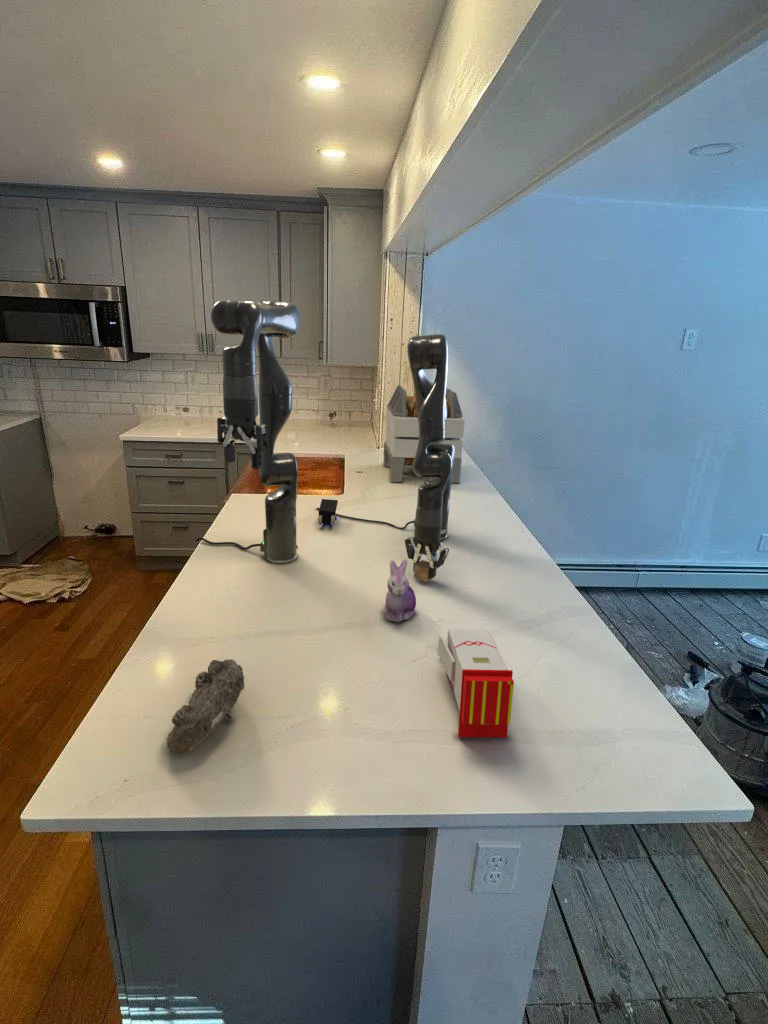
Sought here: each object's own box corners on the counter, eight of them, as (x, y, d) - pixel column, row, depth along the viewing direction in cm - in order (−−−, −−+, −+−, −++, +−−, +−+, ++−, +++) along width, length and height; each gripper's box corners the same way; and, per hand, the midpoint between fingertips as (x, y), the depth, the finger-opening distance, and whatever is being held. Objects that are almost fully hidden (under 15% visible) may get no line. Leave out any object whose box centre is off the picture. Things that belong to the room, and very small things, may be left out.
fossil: (192, 660, 117) (244, 628, 112) (224, 691, 120) (276, 661, 115) (142, 746, 98) (202, 712, 93) (182, 779, 101) (242, 748, 96)
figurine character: (335, 535, 199) (338, 516, 213) (336, 516, 196) (338, 497, 209) (316, 534, 199) (320, 515, 213) (316, 515, 196) (320, 497, 209)
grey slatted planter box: (382, 463, 289) (386, 382, 275) (445, 464, 293) (451, 384, 279) (390, 482, 257) (394, 392, 243) (460, 483, 261) (468, 394, 247)
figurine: (392, 627, 141) (395, 572, 136) (374, 608, 149) (376, 556, 144) (425, 619, 145) (429, 566, 140) (405, 601, 154) (408, 550, 149)
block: (413, 577, 165) (414, 564, 164) (421, 572, 169) (422, 559, 167) (426, 581, 163) (427, 568, 162) (434, 576, 167) (435, 563, 165)
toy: (488, 613, 130) (523, 677, 101) (484, 667, 133) (517, 744, 104) (435, 612, 130) (455, 676, 101) (432, 666, 133) (451, 743, 103)
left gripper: (205, 393, 128) (210, 463, 133) (250, 400, 120) (253, 474, 126) (231, 390, 133) (234, 457, 139) (275, 397, 126) (277, 467, 132)
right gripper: (399, 518, 161) (396, 573, 166) (444, 530, 153) (439, 587, 159) (413, 512, 167) (410, 565, 172) (457, 523, 159) (451, 578, 165)
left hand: (243, 465), depth 132 cm, fingers open, 8 cm apart
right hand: (424, 575), depth 166 cm, fingers closed on block, 4 cm apart
